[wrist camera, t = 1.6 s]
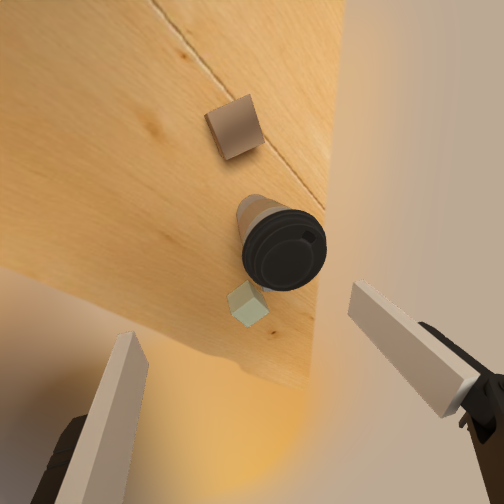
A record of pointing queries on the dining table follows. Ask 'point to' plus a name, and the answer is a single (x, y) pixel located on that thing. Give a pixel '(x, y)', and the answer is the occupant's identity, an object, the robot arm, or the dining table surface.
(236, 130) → the walnut cube
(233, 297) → the sage cube
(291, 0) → the dining table surface
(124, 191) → the dining table surface
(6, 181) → the dining table surface
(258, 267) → the coffee cup
